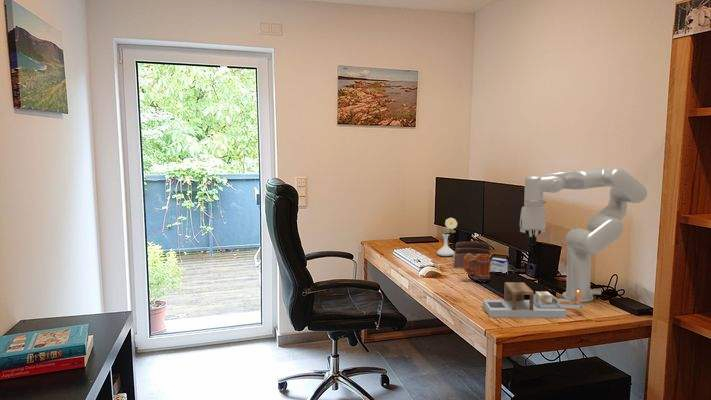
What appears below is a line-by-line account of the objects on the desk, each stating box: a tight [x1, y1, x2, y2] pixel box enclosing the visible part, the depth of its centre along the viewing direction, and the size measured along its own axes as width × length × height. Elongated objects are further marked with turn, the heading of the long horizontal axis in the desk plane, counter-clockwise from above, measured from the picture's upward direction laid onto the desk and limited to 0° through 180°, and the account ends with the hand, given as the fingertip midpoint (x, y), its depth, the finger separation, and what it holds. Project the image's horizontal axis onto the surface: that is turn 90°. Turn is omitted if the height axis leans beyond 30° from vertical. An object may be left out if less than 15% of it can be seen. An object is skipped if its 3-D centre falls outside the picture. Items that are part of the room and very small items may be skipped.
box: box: [490, 257, 509, 273], centre depth 244 cm, size 8×4×9 cm, turn 51°
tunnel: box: [503, 281, 535, 310], centre depth 185 cm, size 8×13×8 cm, turn 176°
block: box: [534, 291, 553, 304], centre depth 185 cm, size 5×5×5 cm
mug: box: [463, 253, 492, 280], centre depth 229 cm, size 15×8×15 cm, turn 92°
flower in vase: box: [436, 217, 458, 257], centre depth 289 cm, size 13×11×25 cm
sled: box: [533, 289, 585, 309], centre depth 184 cm, size 18×8×6 cm, turn 86°
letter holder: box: [453, 241, 491, 270], centre depth 261 cm, size 10×20×14 cm, turn 72°
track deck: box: [482, 299, 567, 319], centre depth 186 cm, size 30×13×3 cm, turn 86°
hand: (532, 245), depth 198 cm, fingers closed
